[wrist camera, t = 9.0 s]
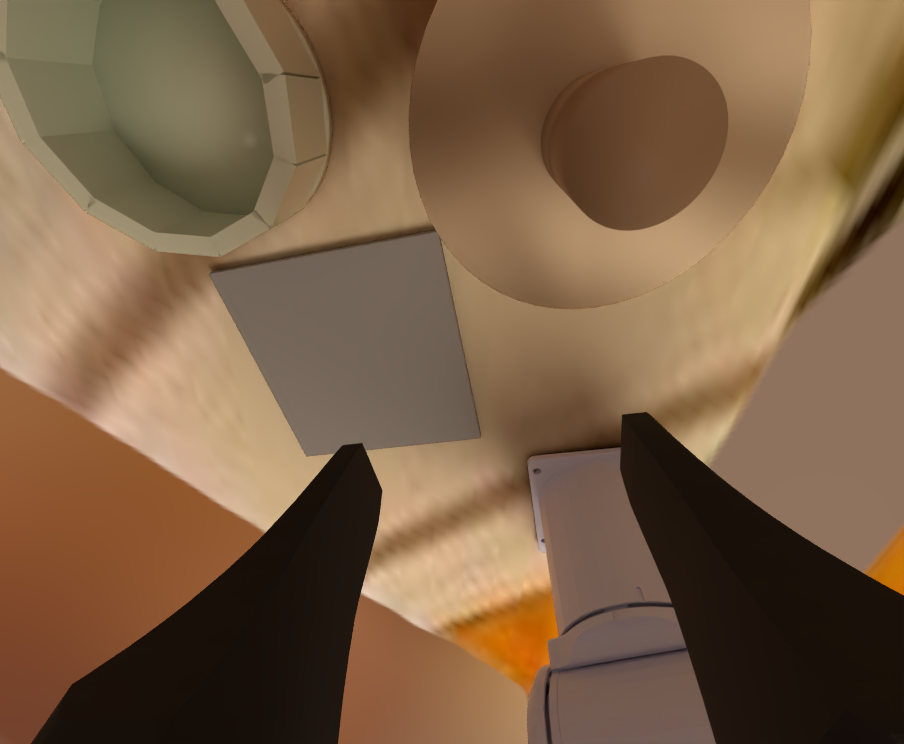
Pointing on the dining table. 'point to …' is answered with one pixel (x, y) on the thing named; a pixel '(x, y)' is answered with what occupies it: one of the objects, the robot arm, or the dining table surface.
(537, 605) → the dining table surface
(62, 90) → the sage bowl
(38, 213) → the dining table surface
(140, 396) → the dining table surface
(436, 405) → the slate mat
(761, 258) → the dining table surface
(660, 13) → the lid
